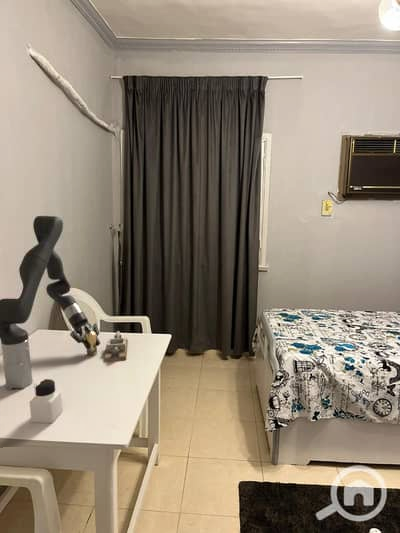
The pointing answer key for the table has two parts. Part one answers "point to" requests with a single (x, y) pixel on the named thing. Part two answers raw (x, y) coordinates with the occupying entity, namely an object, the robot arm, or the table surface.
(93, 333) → the ball
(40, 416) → the medicine bottle
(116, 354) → the shaft rig
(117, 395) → the table surface
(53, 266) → the robot arm
